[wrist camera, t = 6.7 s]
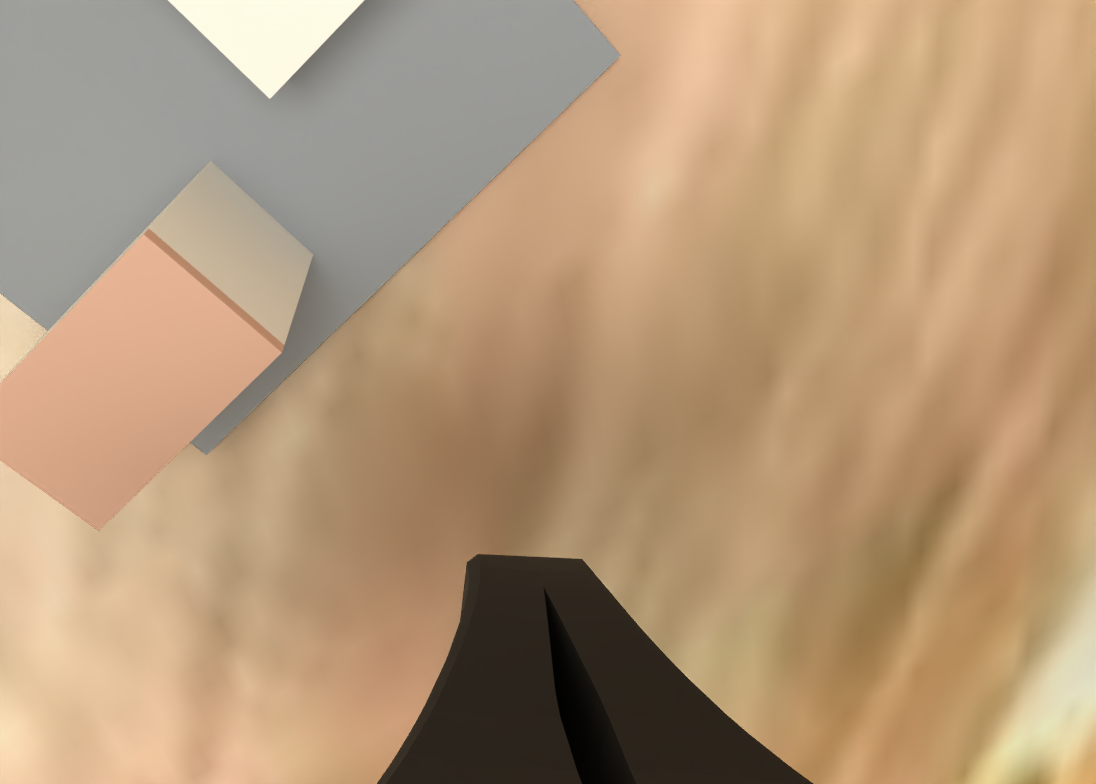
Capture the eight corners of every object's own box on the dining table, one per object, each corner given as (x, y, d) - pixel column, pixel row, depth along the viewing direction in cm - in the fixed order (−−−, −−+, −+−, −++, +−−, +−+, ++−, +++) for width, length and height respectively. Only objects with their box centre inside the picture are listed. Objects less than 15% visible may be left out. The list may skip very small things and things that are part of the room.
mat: (616, 53, 19) (620, 55, 19) (210, 446, 21) (206, 455, 21) (56, -603, 15) (47, -618, 14) (-386, -25, 17) (-405, -23, 16)
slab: (313, 254, 19) (282, 352, 15) (170, 396, 20) (99, 531, 16) (210, 160, 19) (144, 234, 14) (65, 312, 19) (-44, 429, 15)
